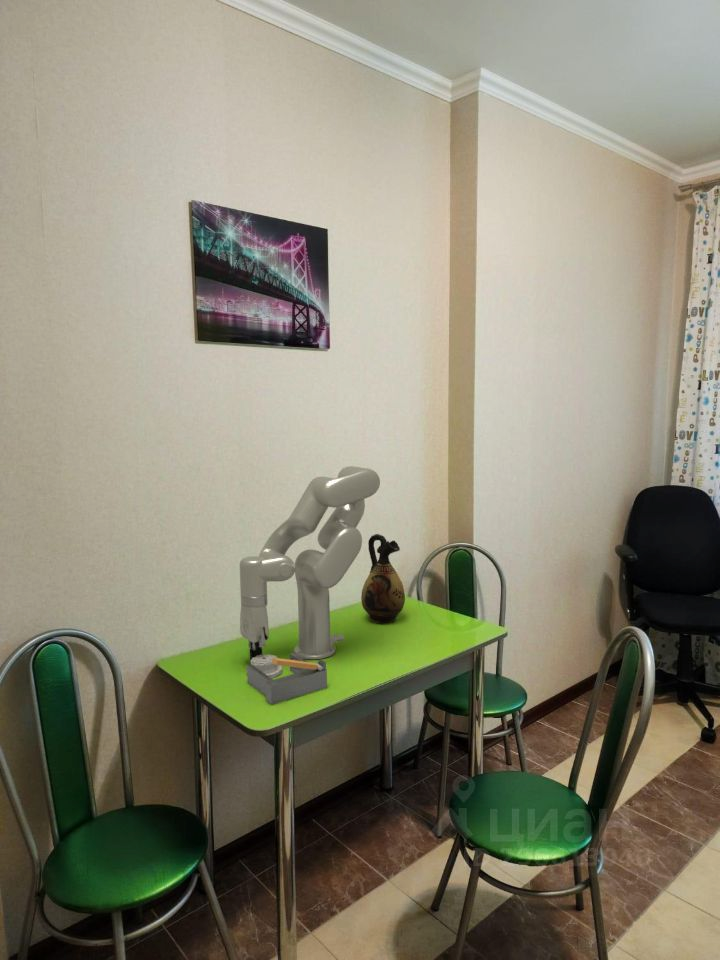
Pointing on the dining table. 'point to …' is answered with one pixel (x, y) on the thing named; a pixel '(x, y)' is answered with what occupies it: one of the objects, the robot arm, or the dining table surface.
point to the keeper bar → (296, 664)
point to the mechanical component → (267, 665)
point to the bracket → (288, 681)
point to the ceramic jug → (382, 584)
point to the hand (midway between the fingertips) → (256, 661)
